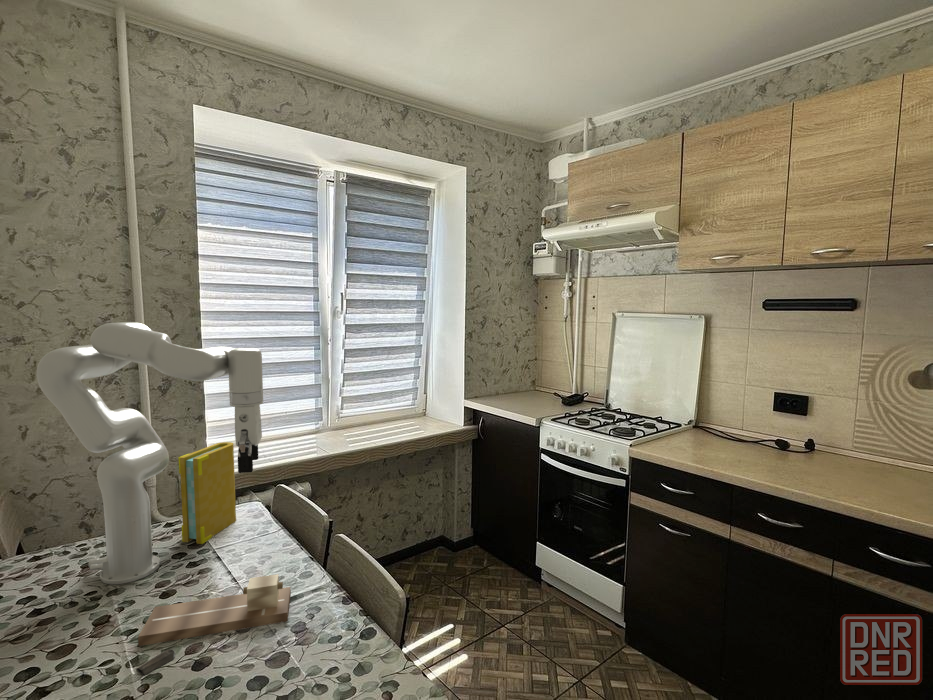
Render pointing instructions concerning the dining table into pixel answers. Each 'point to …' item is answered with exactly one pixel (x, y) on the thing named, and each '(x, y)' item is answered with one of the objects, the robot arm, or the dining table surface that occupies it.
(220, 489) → the book
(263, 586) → the cream knobbed box
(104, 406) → the robot arm
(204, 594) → the dining table surface
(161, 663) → the block
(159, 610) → the board
